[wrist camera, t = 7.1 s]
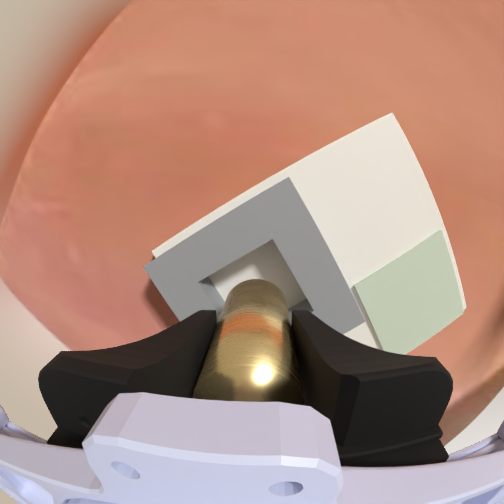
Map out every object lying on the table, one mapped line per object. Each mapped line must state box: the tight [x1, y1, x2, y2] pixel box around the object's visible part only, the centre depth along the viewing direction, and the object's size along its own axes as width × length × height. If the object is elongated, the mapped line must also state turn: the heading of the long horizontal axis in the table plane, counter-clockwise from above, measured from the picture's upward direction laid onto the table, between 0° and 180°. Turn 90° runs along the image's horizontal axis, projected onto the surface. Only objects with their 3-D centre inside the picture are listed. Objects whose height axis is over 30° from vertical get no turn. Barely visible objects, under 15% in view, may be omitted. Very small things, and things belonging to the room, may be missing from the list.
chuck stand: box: [143, 113, 466, 355], centre depth 16 cm, size 15×17×3 cm
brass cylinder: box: [192, 279, 305, 406], centre depth 10 cm, size 3×3×7 cm
